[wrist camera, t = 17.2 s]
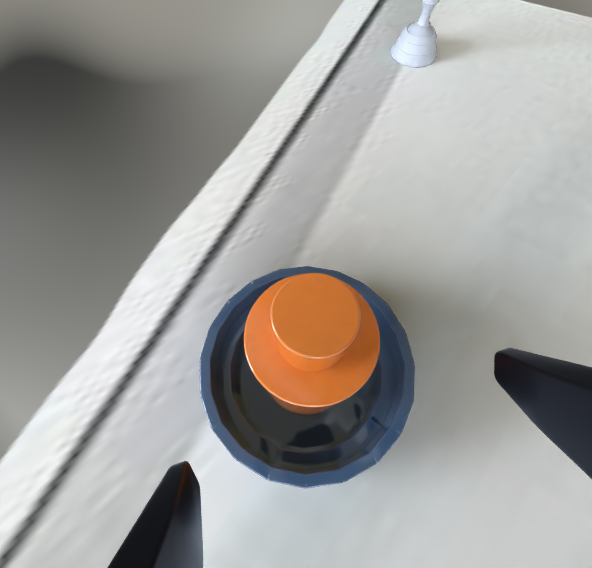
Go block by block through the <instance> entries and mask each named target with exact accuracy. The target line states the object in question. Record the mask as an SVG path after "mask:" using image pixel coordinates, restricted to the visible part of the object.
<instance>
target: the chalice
mask: <svg viewBox="0 0 592 568" xmlns="http://www.w3.org/2000/svg"><path fill="white" fill-rule="evenodd" d="M422 2H423V8H422V13H421V16H420V18H419V20H417V21H416V22H413V23H410V24H409V25H408V26H407V27H406V28H404V30H403V31H402V34H401V35H400V36H399V37H398V39H397V42H396V43H395V44H394V45H393V47H392V48H391V54H392V57H393V58H394V59H395V60H396V61H397V62H399V63H401V64H403V65H406V66H409V67H424V66H427V65H430V64H431V63H433V62H434V61H435V59H436V47H437V46H436V39H437V35H436V32H435V29H434V27H432V26H431V23H430V22H429V18H430V13H431V11H432V9H433V7H434V5H436V4H437V3H438V2H439V0H422Z"/></svg>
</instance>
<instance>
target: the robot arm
mask: <svg viewBox="0 0 592 568" xmlns="http://www.w3.org/2000/svg"><path fill="white" fill-rule="evenodd" d="M494 375H495V378H496V380H497V382H498V383H499V385H500V386H501V387H502V388H503V389H504V390H505V391H506V392H507V394H508V395H509V396H510V397H511V398H512V399H513V400H514V401H515V403H516V404H517V405H518V406H519V407H520V408H521V409H522V410H523V412H524V413H525V414H526V415H527V416H528V417H529V418H530V419H531V421H532V422H533V423H534V424H535V425H536V426H537V427H538V428H539V429H540V430H541V431H542V432H543V433H544V434H545V435H546V436H547V437H548V438H549V439H550V440H551V441H552V442H553V443H554V444H555V445H557V446H558V447H559V448H560V449H561V450H562V451H563V452H564V453H565V454H566V455H567V456H568V457H569V458H570V459H571V460H572V461H573V462H574V463H575V464H577V465H578V466H579V467H580V468H581V469H582V470H583V471H584V472H585V473H586V474H587V475H588V476H589V477H590V478H591V479H592V367H588V366H584V365H580V364H575V363H571V362H567V361H563V360H559V359H555V358H550V357H546V356H542V355H538V354H534V353H530V352H526V351H521V350H517V349H513V348H506V349H503V350H501V351H498V352H496V354H495V358H494ZM108 568H203V541H202V519H201V497H200V486H199V483H198V480H197V478H196V476H195V474H194V472H193V470H192V468H191V466H190V464H189V463H188V462H187V461H184V462H181V463H178V464H175V465H173V466H171V467H170V468H169V469H168V471H167V473H166V474H165V476H164V477H163V479H162V481H161V482H160V484H159V486H158V487H157V489H156V490H155V492H154V494H153V495H152V497H151V498H150V500H149V502H148V503H147V505H146V506H145V508H144V510H143V511H142V513H141V515H140V516H139V518H138V519H137V521H136V523H135V524H134V526H133V527H132V529H131V531H130V532H129V534H128V536H127V537H126V539H125V540H124V542H123V544H122V545H121V547H120V548H119V550H118V552H117V553H116V555H115V556H114V558H113V560H112V561H111V563H110V565H109V566H108Z"/></svg>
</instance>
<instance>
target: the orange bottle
mask: <svg viewBox="0 0 592 568" xmlns="http://www.w3.org/2000/svg"><path fill="white" fill-rule="evenodd" d="M244 348H245V354H246V358H247V361H248V364H249V366H250V368H251V370H252V372H253V374H254V375H255V377H256V378H257V380H258V381H259V382H260V383H261V385H262V386H263V387H264V388H265V389H266V390H267V392H268V393H269V394H270V395H271V396H272V397H273V399H274V400H275V401H276V402H277V403H278V404H279V405H280V406H281V407H283V408H284V409H286V410H288V411H289V412H292V413H295V414H299V415H313V414H317V413H320V412H322V411H324V410H326V409H328V408H330V407H332V406H334V405H336V404H338V403H340V402H342V401H343V400H345V399H347V398H349V397H351V396H352V395H353V394H355V393H356V392H357V391H358V390H359V389H360V388H361V387H362V386H363V385H364V384H365V383H366V382H367V380H368V379H369V378H370V376H371V374H372V372H373V370H374V369H375V366H376V363H377V360H378V356H379V351H380V333H379V327H378V323H377V320H376V317H375V315H374V313H373V311H372V309H371V307H370V306H369V304H368V303H367V301H366V300H365V299H364V298H363V297H362V295H361V294H360V293H358V292H357V291H356V290H355V289H354V288H353V287H351V286H350V285H348V284H347V283H345V282H343V281H341V280H339V279H337V278H335V277H332V276H330V275H327V274H322V273H307V274H299V275H294V276H291V277H287V278H285V279H283V280H280V281H278V282H277V283H275V284H273V285H272V286H270V287H269V288H268V289H267V290H266V291H264V292H263V293H262V295H261V296H260V297H259V298H258V299H257V301H256V302H255V303H254V305H253V307H252V308H251V310H250V312H249V315H248V317H247V320H246V324H245V330H244Z"/></svg>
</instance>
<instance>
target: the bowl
mask: <svg viewBox="0 0 592 568" xmlns="http://www.w3.org/2000/svg"><path fill="white" fill-rule="evenodd" d="M307 273H322V274H327V275H330V276H332V277H335V278H337V279H339V280H341V281H343V282H345V283H347V284H348V285H350V286H351V287H353V288H354V289H355V290H356V291H357V292H358V293H360V294H361V295H362V297H363V298H364V299H365V300H366V301H367V303H368V304H369V306H370V307H371V309H372V311H373V313H374V315H375V317H376V320H377V323H378V327H379V333H380V351H379V356H378V360H377V363H376V366H375V369H374V370H373V372H372V374H371V376H370V378H369V379H368V380H367V382H366V383H365V384H364V385H363V386H362V387H361V388H360V389H359V390H358V391H357V392H356V393H355V394H353V395H352V396H351V397H349V398H347V399H345V400H343V401H342V402H340V403H338V404H336V405H334V406H332V407H330V408H328V409H326V410H324V411H322V412H320V413H317V414H313V415H299V414H295V413H292V412H289V411H288V410H286V409H284V408H283V407H281V406H280V405H279V404H278V403H277V402H276V401H275V400H274V399H273V397H272V396H271V395H270V394H269V393H268V392H267V390H266V389H265V388H264V387H263V386H262V385H261V383H260V382H259V381H258V380H257V378H256V377H255V375H254V374H253V372H252V370H251V368H250V366H249V364H248V361H247V358H246V354H245V348H244V330H245V324H246V320H247V317H248V315H249V312H250V310H251V308H252V307H253V305H254V303H255V302H256V301H257V299H258V298H259V297H260V296H261V295H262V293H263V292H264V291H266V290H267V289H268V288H269V287H270V286H272V285H273V284H275V283H277V282H278V281H280V280H283V279H285V278H287V277H291V276H294V275H299V274H307ZM200 359H201V360H200V394H201V399H202V401H203V404H204V407H205V410H206V413H207V416H208V419H209V422H210V425H211V428H212V429H213V431H214V433H215V434H216V435H217V437H218V438H219V439H220V441H221V442H222V443H223V444H224V446H225V447H226V448H227V450H228V451H229V452H230V454H231V455H232V456H233V457H234V458H236V460H237V461H238V462H240V463H241V464H243V465H244V466H246V467H248V468H249V469H251V470H252V471H254V472H255V473H257V474H258V475H260V476H262V477H263V478H265V479H266V480H269V481H273V482H277V483H282V484H287V485H291V486H296V487H301V488H312V487H319V486H325V485H331V484H338V483H343V482H346V481H348V480H349V479H351V478H353V477H354V476H356V475H358V474H360V473H361V472H363V471H365V470H367V469H368V468H370V467H372V466H374V465H375V464H376V463H377V462H379V461H380V459H381V458H382V457H383V456H384V455H385V453H386V452H387V451H388V450H389V449H390V447H391V446H392V445H393V444H394V442H395V441H396V440H397V439H398V438H399V436H400V435H401V433H402V431H403V428H404V426H405V423H406V420H407V417H408V415H409V412H410V409H411V406H412V404H413V399H414V375H415V365H414V360H413V357H412V353H411V349H410V346H409V342H408V339H407V335H406V333H405V330H404V329H403V327H402V326H401V324H400V322H399V321H398V319H397V318H396V316H395V315H394V313H393V311H392V310H391V308H390V307H389V305H388V304H387V303H386V302H385V301H383V300H382V299H381V298H380V297H379V296H378V295H377V294H375V293H374V292H373V291H372V290H371V289H370V288H369V287H367V286H366V285H364V283H362V282H359V281H357V280H355V279H353V278H351V277H349V276H347V275H345V274H342V273H340V272H338V271H333V270H327V269H321V268H315V267H308V266H305V267H297V268H289V269H280V270H277V271H275V272H272V273H270V274H268V275H265V276H263V277H261V278H258V279H256V280H254V281H252V282H250V283H249V284H247V285H246V286H245V287H244V288H243V289H241V290H240V291H239V292H238V293H237V294H235V295H234V296H233V297H232V298H230V299H229V300H228V302H226V304H225V305H224V307H223V308H222V310H221V311H220V313H219V314H218V316H217V317H216V319H215V320H214V322H213V323H212V325H211V326H210V328H209V331H208V334H207V338H206V341H205V344H204V347H203V351H202V354H201V357H200Z"/></svg>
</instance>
